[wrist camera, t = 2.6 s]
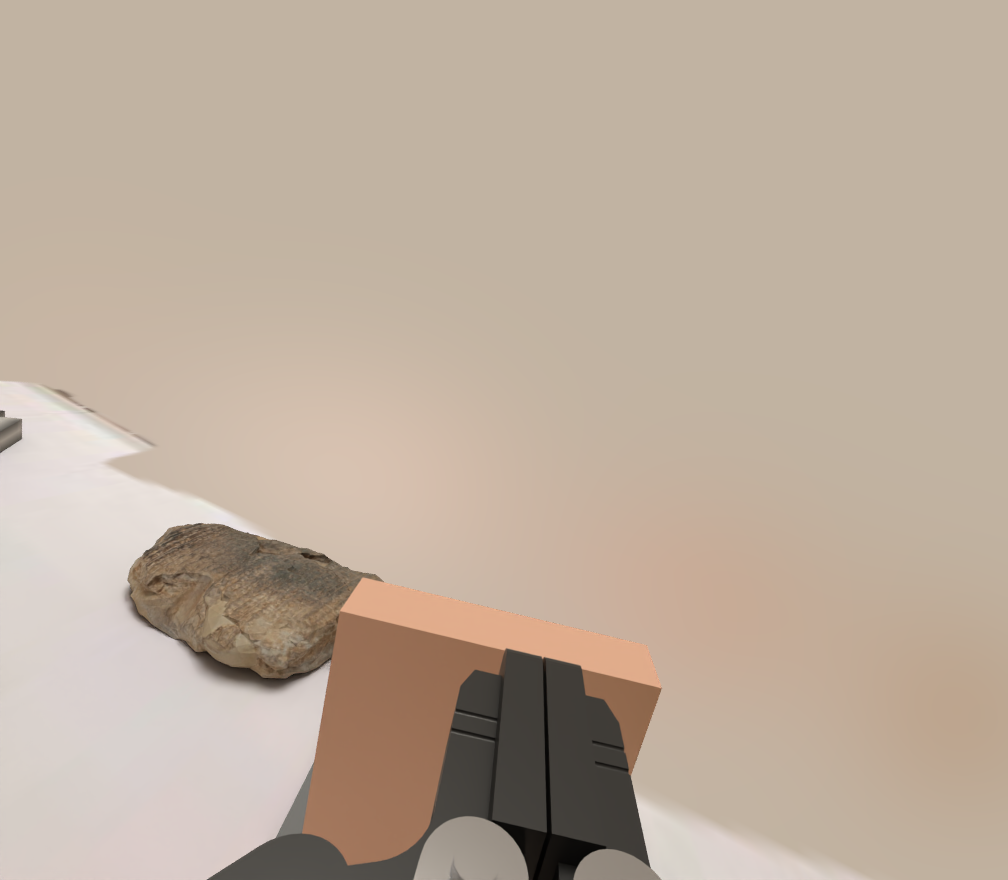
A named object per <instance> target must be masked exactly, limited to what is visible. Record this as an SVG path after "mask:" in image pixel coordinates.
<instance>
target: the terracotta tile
mask: <svg viewBox="0 0 1008 880" xmlns="http://www.w3.org/2000/svg"><path fill="white" fill-rule="evenodd" d="M506 648H507V649H512V650H516V651H520V652H525V653H529V654H533V655H537V656H542V659H543V658H544V657H547V658H551V659H555V660H560V661H564V662H568V663H573V664H577V665H580V666H581V668H582V673H583V680H584V687H585V694H586V695H587V696H591V697H596V698H600V699H604V700H605V702H606V703H607V705H608V706H609V708H610V710H611V711H612V713H613V714H614V716H615V717H616V719H617V720H618V722H619V725H620V729H621V734H622V739H623V743H624V753H626V757H627V762H628V767H629V775H630V776H631V774H632V771H633V768H634V765H635V762H636V760H637V757H638V754H639V751H640V748H641V745H642V742H643V740H644V737H645V734H646V731H647V729H648V726H649V723H650V720H651V717H652V714H653V712H654V709H655V706H656V703H657V700H658V697H659V695H660V692H661V689H662V688H661V685H660V682H659V679H658V676H657V673H656V670H655V667H654V665H653V662H652V659H651V656H650V653H649V651H648V647H647V645H643V644H639V643H635V642H631V641H626V640H622V639H618V638H614V637H610V636H606V635H602V634H597V633H593V632H589V631H585V630H581V629H577V628H572V627H568V626H564V625H560V624H556V623H551V622H547V621H543V620H539V619H535V618H530V617H526V616H522V615H518V614H514V613H510V612H506V611H501V610H497V609H493V608H489V607H484V606H480V605H476V604H472V603H468V602H464V601H460V600H455V599H451V598H447V597H443V596H439V595H434V594H430V593H426V592H421V591H418V590H414V589H409V588H405V587H401V586H397V585H392V584H388V583H384V582H380V581H376V580H372V579H368V578H362V579H361V581H360V582H359V584H358V585H357V586H356V588H355V589H354V591H353V592H352V594H351V595H350V597H349V598H348V600H347V601H346V603H345V604H344V606H343V607H342V609H341V610H340V613H339V619H338V625H337V631H336V637H335V642H334V648H333V654H332V660H331V666H330V672H329V678H328V684H327V689H326V695H325V701H324V707H323V713H322V719H321V725H320V731H319V737H318V742H317V748H316V754H315V760H314V766H313V772H312V778H311V784H310V790H309V795H308V801H307V807H306V813H305V819H304V825H303V831H302V834H312V835H315V836H318V837H321V838H323V839H325V840H327V841H329V842H330V843H331V844H333V845H334V846H335V847H336V848H337V849H338V850H339V851H340V853H341V854H342V855H343V857H344V859H345V861H346V863H347V865H355V864H362V863H370V862H377V861H382V860H387V859H390V858H392V857H395V856H398V855H399V854H401V853H403V852H405V851H406V850H408V849H409V848H410V847H412V846H413V845H414V844H415V843H416V842H417V841H418V840H419V839H420V838H421V837H422V836H423V834H424V833H425V831H426V830H427V829H428V827H429V824H430V820H431V816H432V811H433V806H434V802H435V797H436V792H437V787H438V783H439V778H440V773H441V768H442V764H443V759H444V754H445V750H446V745H447V741H448V737H449V733H450V728H451V724H452V720H453V715H454V711H455V707H456V702H457V698H458V694H459V690H460V686H461V685H462V683H463V682H464V681H465V680H466V679H467V678H468V677H469V676H470V674H471V673H472V672H473V671H474V670H479V671H484V672H488V673H492V674H496V675H499V671H500V667H501V663H502V659H503V655H504V652H505V649H506Z"/></svg>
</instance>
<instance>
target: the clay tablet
mask: <svg viewBox="0 0 1008 880" xmlns="http://www.w3.org/2000/svg"><path fill="white" fill-rule="evenodd" d="M362 578H368V579H372V580H376V581H380V582H384V581H382V580H381V579H380V578H379V577H378V576H377V575H375V574H369V573H362V572H358V571H352V570H350V569H349V568H348V567H342V566H341V565H339V564H338V563H336V562H334V561H332V560H331V559H329V558H328V557H326V556H325V555H324V554H322V553H317V552H315V551H312V550H310V549H307V548H298V547H295V546H292V545H290V544H287V543H284V542H280V541H277V540H269V539H266V538H263V537H260V536H257V535H252V534H249V533H244V532H241V531H238V530H235V529H233V528H230V527H228V526H225V525H221V524H203V523H198V524H194V525H190V524H187V525H184V526H176V527H172V528H169V529H168V530H167V531H166V532H165V534H164V535H163V536H162V537H160V538H159V539H158V540H157V541H156V543H155V545H154V546H153V547H152V548H151V549H149V550H146V551H145V552H144V554H143V555H142V557H140V558H138V559H137V560H136V561H135V563H134V564H133V566H132V567H131V568H130V572H129V576H128V582H129V583H130V588H131V589H132V591H133V592H132V594H131V595H130V596H131V597H132V599H133V600H134V601H135V604H136V607H137V610H138V613H139V614H141V615H142V616H144V617H145V618H146V619H147V620H148V621H149V622H150V623H151V624H152V625H153V626H155V627H156V628H158V629H159V630H161V631H163V632H164V633H166V634H168V635H169V636H170V637H171V638H173V639H180V640H185V641H186V642H187V644H188V645H189V646H190V647H191V648H192V649H193V650H194V651H196V652H205V651H207V652H208V653H209V654H210V655H211V656H212V657H213V658H214V659H215V660H217V661H220V662H222V663H224V664H227V665H229V666H231V667H243V668H250V669H252V670H253V671H255V672H256V673H258V674H259V675H260V676H261V677H262V678H288V677H289V676H291V675H292V674H294V673H305V672H308V671H311V670H313V669H316V668H318V667H319V666H320V665H322V664H323V663H324V662H326V661H327V660H328V659H330V658H332V654H333V648H334V642H335V637H336V631H337V625H338V619H339V613H340V610H341V609H342V607H343V606H344V604H345V603H346V601H347V600H348V598H349V597H350V595H351V594H352V592H353V591H354V589H355V588H356V586H357V585H358V584H359V582H360V581H361V579H362ZM384 583H385V582H384Z"/></svg>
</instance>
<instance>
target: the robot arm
mask: <svg viewBox="0 0 1008 880" xmlns="http://www.w3.org/2000/svg"><path fill="white" fill-rule="evenodd" d="M207 880H661V879H660V878H659V876H658V875H657V874H656V873H655V872H654V871H653V870H652V869H651V867H650V864H649V860H648V855H647V851H646V846H645V841H644V837H643V832H642V827H641V823H640V818H639V813H638V809H637V804H636V799H635V795H634V790H633V785H632V781H631V776H630V775H629V767H628V762H627V757H626V753H624V743H623V739H622V734H621V729H620V725H619V722H618V720H617V719H616V717H615V716H614V714H613V713H612V711H611V710H610V708H609V706H608V705H607V703H606V702H605V700H604V699H600V698H596V697H591V696H587V695H586V694H585V687H584V680H583V673H582V668H581V666H580V665H577V664H573V663H568V662H564V661H560V660H555V659H551V658H547V657H544V658H543V659H542V656H537V655H533V654H529V653H525V652H520V651H516V650H512V649H507V648H506V649H505V652H504V655H503V659H502V663H501V667H500V671H499V675H496V674H492V673H488V672H484V671H479V670H474V671H473V672H472V673H471V674H470V676H469V677H468V678H467V679H466V680H465V681H464V682H463V683H462V685H461V686H460V690H459V694H458V698H457V702H456V707H455V711H454V715H453V720H452V724H451V728H450V733H449V737H448V741H447V745H446V750H445V754H444V759H443V764H442V768H441V773H440V778H439V783H438V787H437V792H436V797H435V802H434V806H433V811H432V816H431V820H430V824H429V827H428V829H427V830H426V831H425V833H424V834H423V836H422V837H421V838H420V839H419V840H418V841H417V842H416V843H415V844H414V845H413V846H412V847H410V848H409V849H408V850H406V851H405V852H403V853H401V854H399V855H398V856H395V857H392V858H390V859H387V860H382V861H377V862H370V863H362V864H355V865H347V863H346V861H345V859H344V857H343V855H342V854H341V853H340V851H339V850H338V849H337V848H336V847H335V846H334V845H333V844H331V843H330V842H329V841H327V840H325V839H323V838H321V837H318V836H315V835H312V834H302V833H300V834H289V835H285V836H280V837H278V838H275V839H272V840H270V841H268V842H266V843H264V844H263V845H261V846H259V847H257V848H256V849H254V850H253V851H251V852H250V853H248V854H246V855H245V856H243V857H242V858H240V859H239V860H237V861H235V862H234V863H232V864H231V865H229V866H228V867H226V868H224V869H223V870H221V871H220V872H218V873H217V874H215V875H213V876H212V877H210V878H209V879H207Z"/></svg>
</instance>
